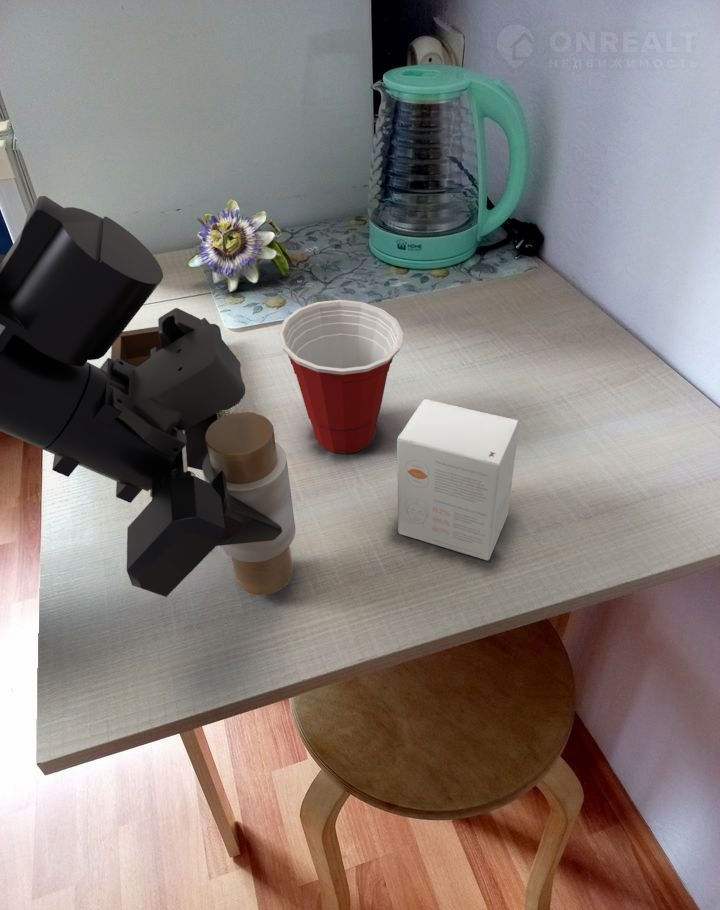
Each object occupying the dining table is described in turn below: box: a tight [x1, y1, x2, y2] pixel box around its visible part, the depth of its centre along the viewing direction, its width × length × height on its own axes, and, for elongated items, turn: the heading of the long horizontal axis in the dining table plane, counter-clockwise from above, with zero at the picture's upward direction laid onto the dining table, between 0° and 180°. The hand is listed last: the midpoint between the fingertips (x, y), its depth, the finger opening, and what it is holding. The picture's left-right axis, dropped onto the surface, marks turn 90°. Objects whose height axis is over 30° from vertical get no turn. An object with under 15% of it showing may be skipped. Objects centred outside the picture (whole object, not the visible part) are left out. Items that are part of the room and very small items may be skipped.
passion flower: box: [186, 198, 294, 293], centre depth 93 cm, size 11×11×12 cm
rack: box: [110, 326, 162, 367], centre depth 73 cm, size 19×10×4 cm, turn 13°
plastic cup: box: [278, 299, 404, 455], centre depth 65 cm, size 11×11×12 cm
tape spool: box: [201, 411, 296, 596], centre depth 50 cm, size 6×6×14 cm
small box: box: [396, 398, 520, 561], centre depth 56 cm, size 8×6×10 cm
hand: (272, 504), depth 50 cm, fingers closed on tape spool, 5 cm apart
